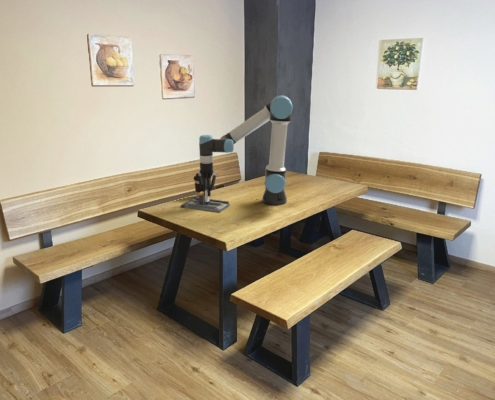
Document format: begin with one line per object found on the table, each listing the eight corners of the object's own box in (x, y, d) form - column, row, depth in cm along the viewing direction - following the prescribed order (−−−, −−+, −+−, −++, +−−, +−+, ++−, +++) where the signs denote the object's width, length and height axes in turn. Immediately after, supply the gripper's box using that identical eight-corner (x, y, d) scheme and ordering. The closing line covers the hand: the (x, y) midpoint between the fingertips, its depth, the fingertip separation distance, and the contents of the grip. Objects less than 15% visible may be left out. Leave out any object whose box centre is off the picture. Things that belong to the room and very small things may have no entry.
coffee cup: (207, 199, 262) (206, 176, 258) (192, 198, 264) (191, 175, 260) (211, 195, 272) (211, 173, 267) (197, 194, 274) (196, 172, 269)
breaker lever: (205, 203, 251) (205, 191, 249) (202, 204, 247) (202, 193, 245) (202, 202, 252) (201, 191, 250) (198, 204, 248) (198, 193, 246)
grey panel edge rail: (195, 201, 259) (195, 198, 259) (183, 207, 247) (183, 205, 247) (193, 201, 260) (192, 198, 260) (181, 207, 248) (181, 204, 247)
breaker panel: (229, 206, 250) (229, 202, 250) (220, 212, 239) (219, 208, 238) (191, 201, 260) (191, 197, 259) (180, 207, 248) (180, 203, 248)
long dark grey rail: (229, 203, 255) (229, 200, 255) (227, 204, 253) (227, 202, 252) (195, 199, 264) (195, 196, 263) (193, 200, 261) (192, 197, 261)
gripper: (219, 161, 242) (220, 200, 249) (199, 160, 246) (200, 198, 253) (213, 164, 235) (214, 204, 242) (193, 162, 240) (194, 201, 247)
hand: (207, 201), depth 248 cm, fingers closed
